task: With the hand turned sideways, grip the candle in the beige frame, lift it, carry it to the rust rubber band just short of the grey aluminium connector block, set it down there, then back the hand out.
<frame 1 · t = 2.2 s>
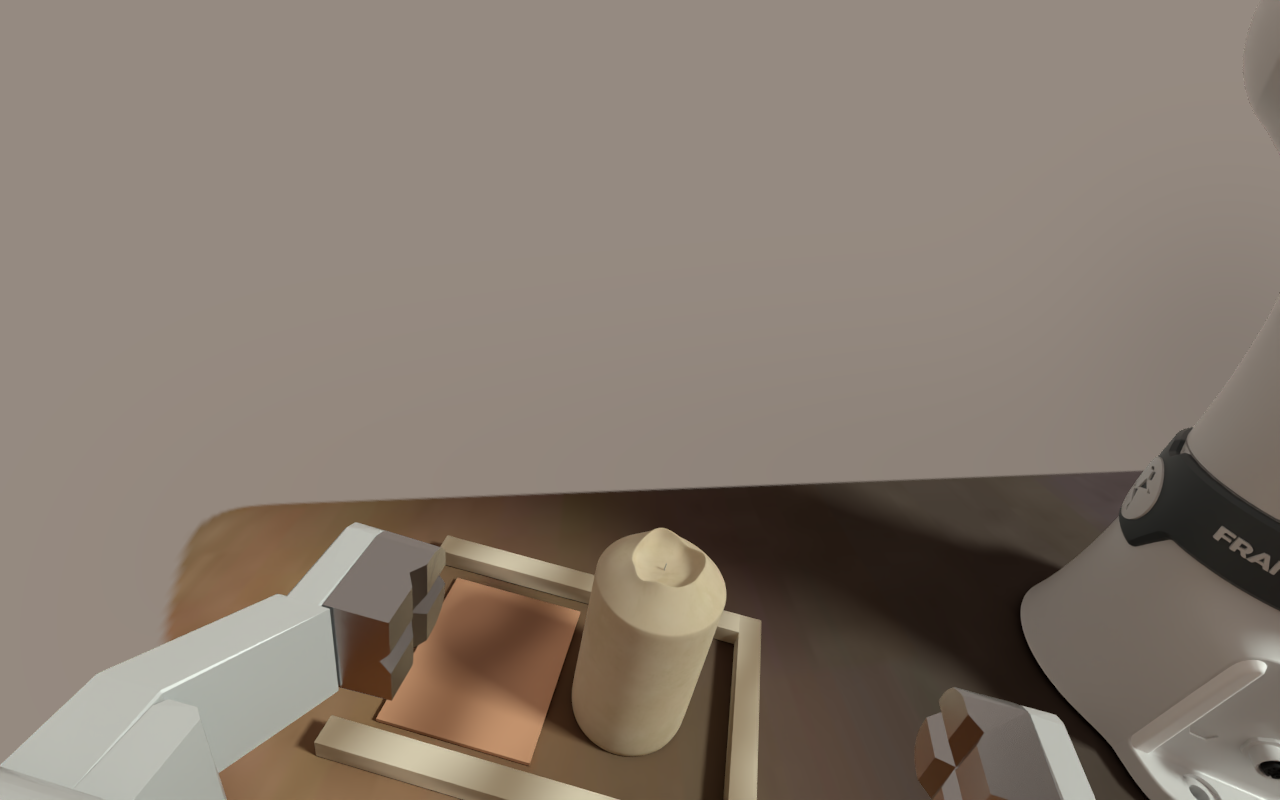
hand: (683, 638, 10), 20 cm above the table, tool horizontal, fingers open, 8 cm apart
beige frame: (557, 681, 31), on the table
candle: (626, 703, 31), resting in beige frame
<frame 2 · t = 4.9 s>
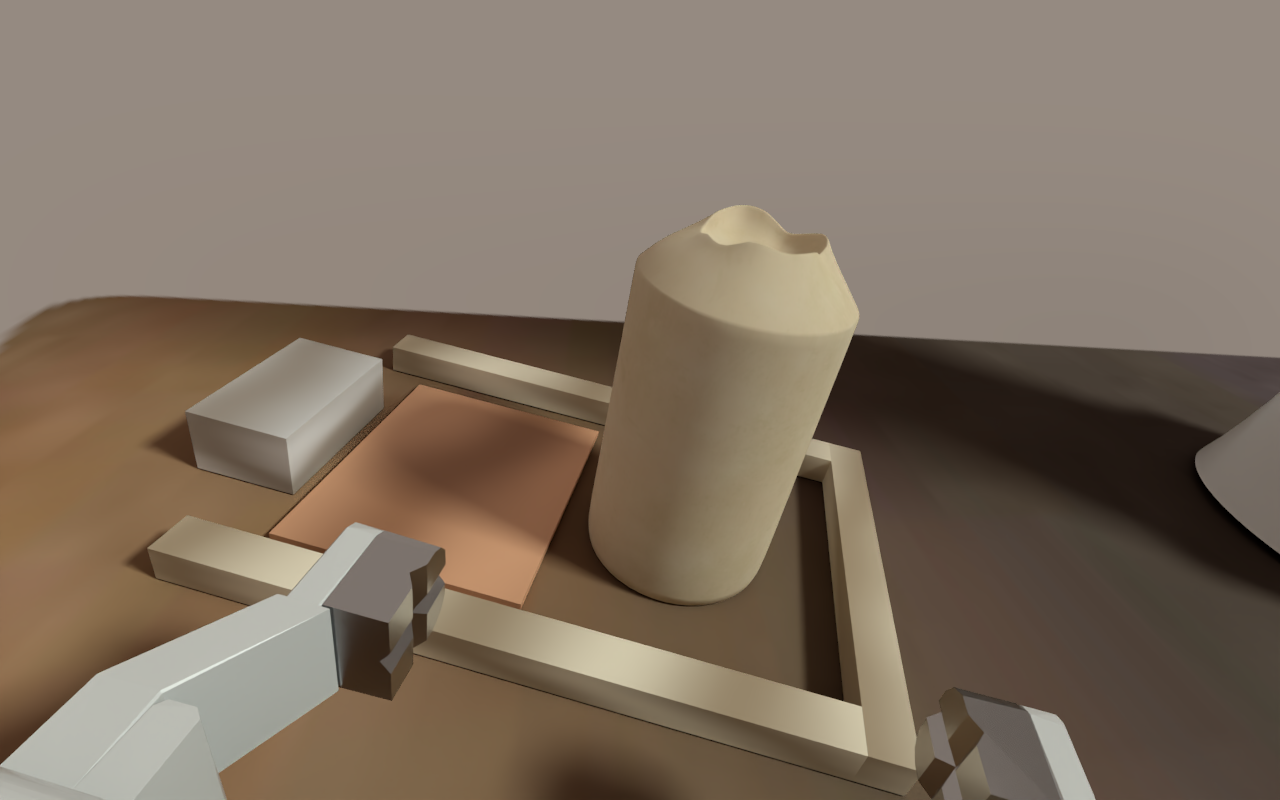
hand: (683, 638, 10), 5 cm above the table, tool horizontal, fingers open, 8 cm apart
beige frame: (566, 507, 20), on the table
candle: (672, 542, 20), resting in beige frame
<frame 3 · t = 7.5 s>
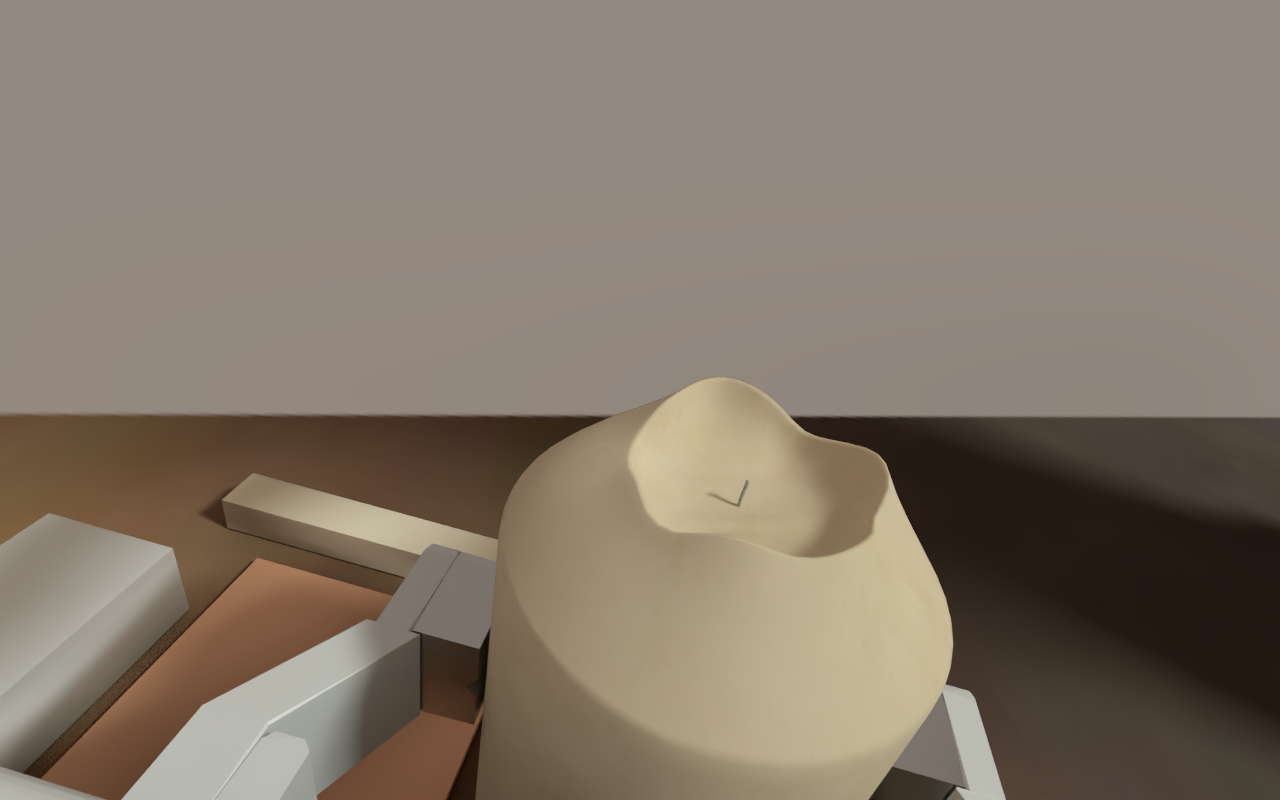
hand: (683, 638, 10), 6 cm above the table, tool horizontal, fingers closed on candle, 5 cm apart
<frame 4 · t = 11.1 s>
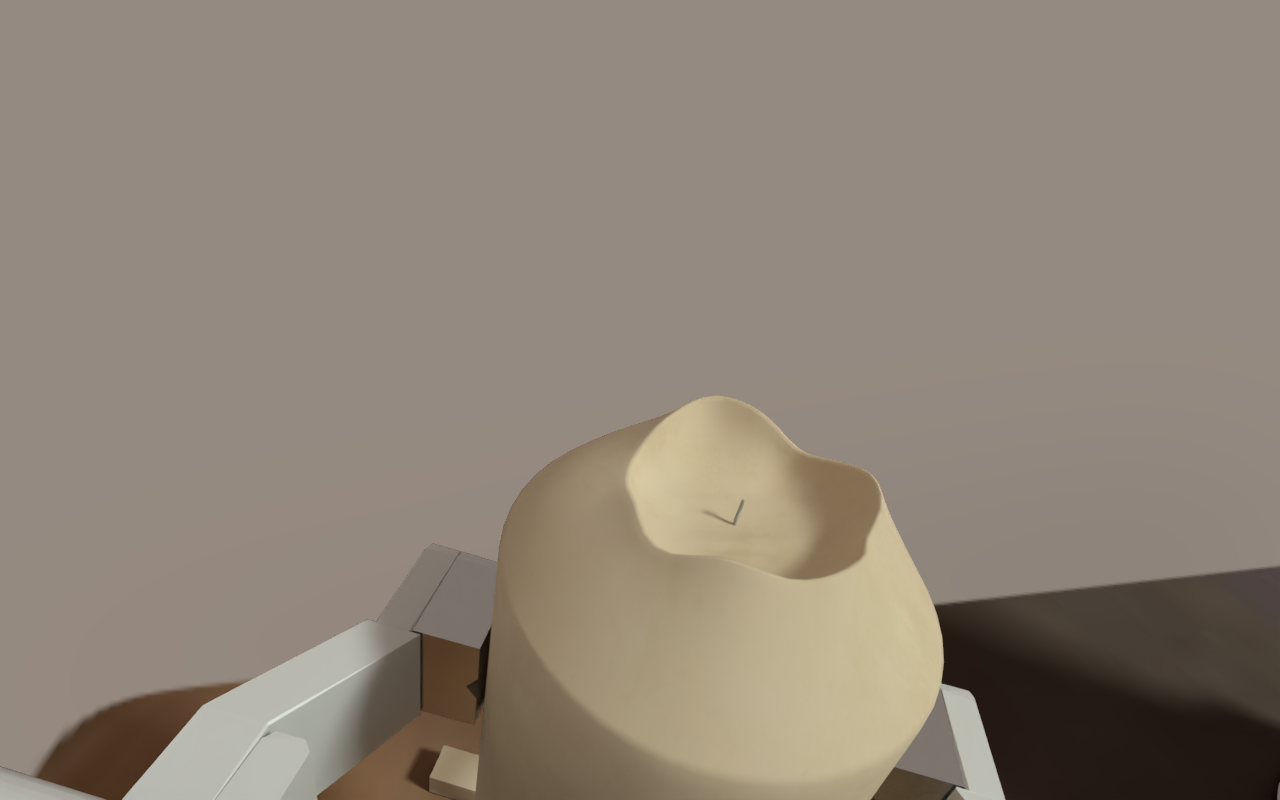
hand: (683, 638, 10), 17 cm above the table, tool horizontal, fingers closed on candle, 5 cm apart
when the fingers open (7 cm above the table, at t = 14.7 s): candle drops 1 cm, resting on beige frame.
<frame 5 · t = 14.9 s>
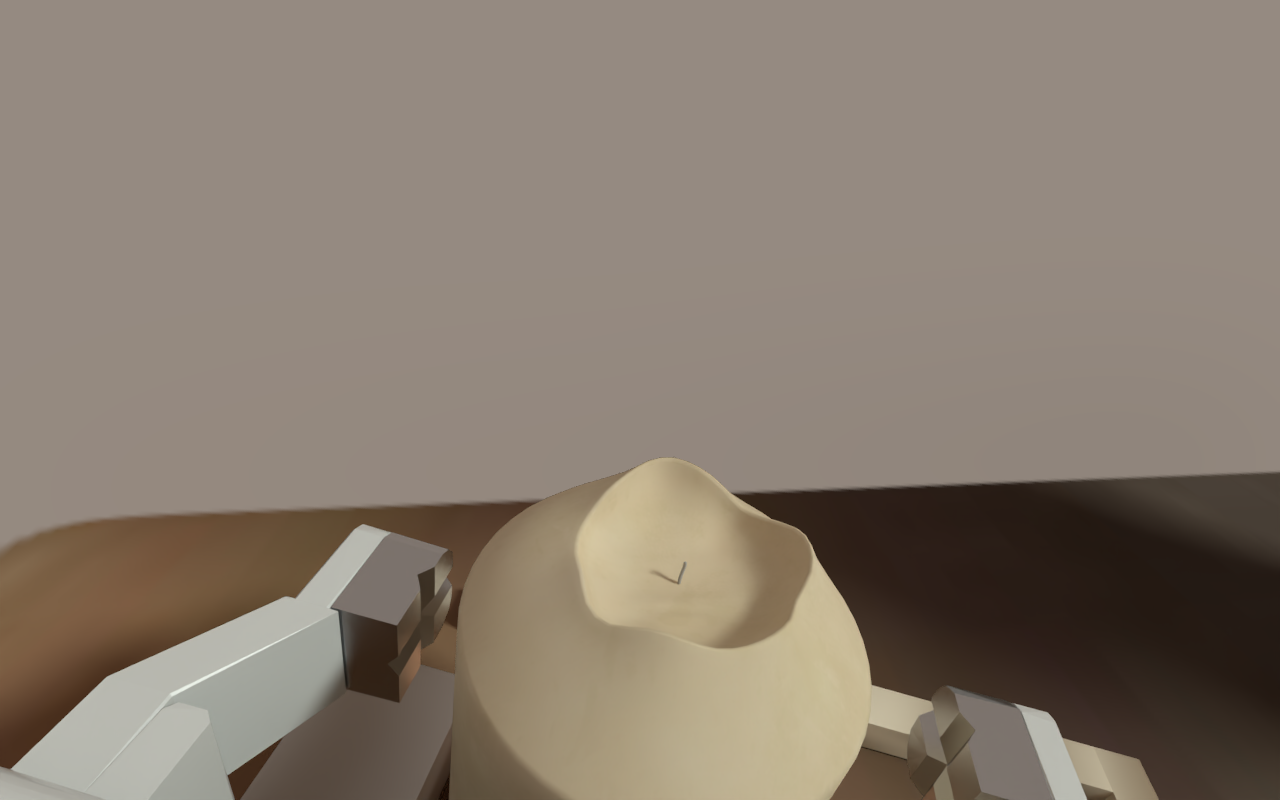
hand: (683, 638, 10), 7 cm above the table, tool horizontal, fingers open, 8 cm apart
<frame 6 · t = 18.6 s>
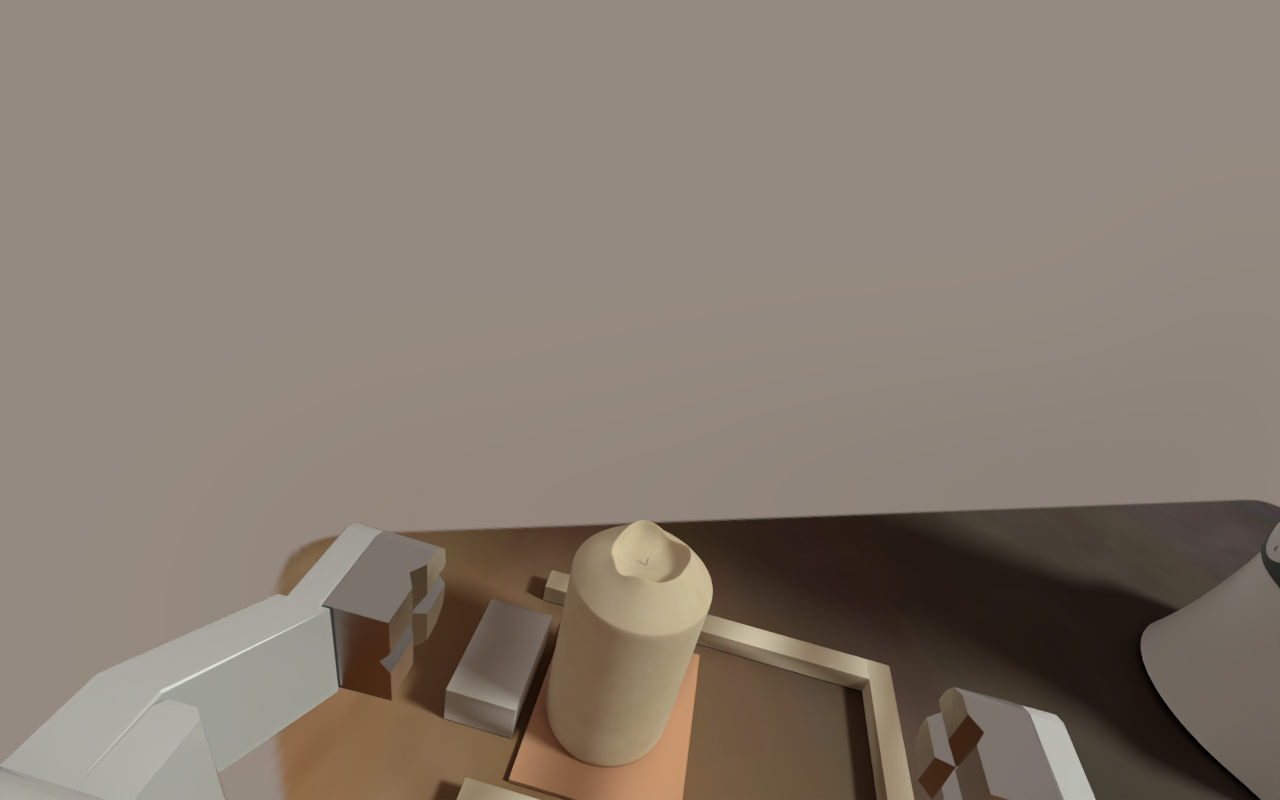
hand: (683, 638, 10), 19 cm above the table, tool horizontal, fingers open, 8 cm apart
beige frame: (689, 734, 29), on the table
candle: (605, 710, 29), resting on beige frame
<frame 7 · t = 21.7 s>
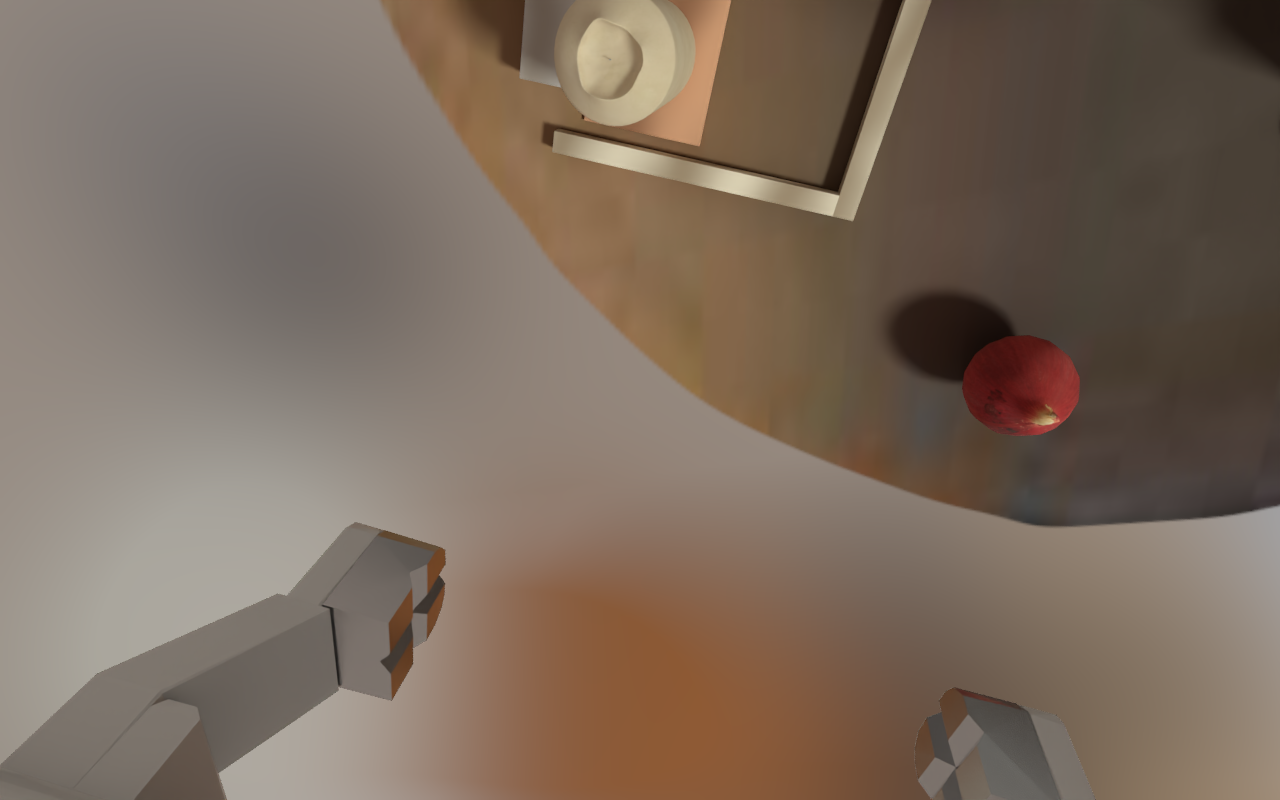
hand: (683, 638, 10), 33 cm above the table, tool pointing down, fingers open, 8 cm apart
beige frame: (716, 66, 36), on the table
candle: (647, 52, 36), resting on beige frame
onion: (998, 356, 41), on the table
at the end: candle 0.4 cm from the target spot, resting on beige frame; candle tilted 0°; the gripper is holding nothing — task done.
